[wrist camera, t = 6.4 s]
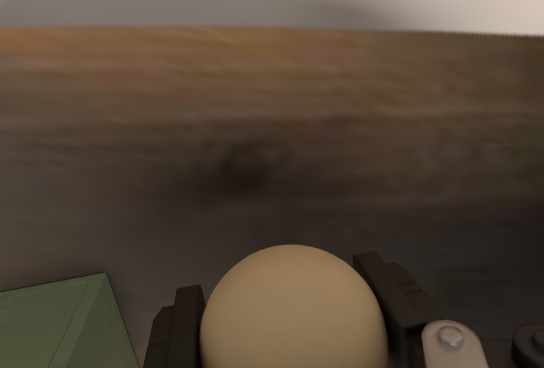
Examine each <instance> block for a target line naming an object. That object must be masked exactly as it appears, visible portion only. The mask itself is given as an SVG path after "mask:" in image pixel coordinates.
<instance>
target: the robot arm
mask: <svg viewBox="0 0 544 368" xmlns="http://www.w3.org/2000/svg"><path fill="white" fill-rule="evenodd" d="M353 269H354V270H355V271H356V272H357V273H358V274H359V275H360V276H361V277H362V278H363V279H364V280H365V282H366V283H367V284H368V286H369V287H370V289H371V290H372V292H373V293H374V295H375V297H376V299H377V301H378V303H379V305H380V308H381V310H382V313H383V316H384V320H385V324H386V328H387V334H388V347H389V352H388V363H387V366H388V368H544V324H538V323H528V324H523V325H520V326H519V327H517V328H516V329H515V330H514V332H513V338H512V340H502V339H485V338H478V336H477V335H476V333H475V332H474V331H473V330H471V329H470V328H469V327H467V326H465V325H463V324H461V323H458V322H455V321H449V320H447V319H446V318H445V317H444V315H443V314H442V313H441V312H440V310H439V309H438V308H437V307H436V306H435V304H434V303H433V302H432V301H431V299H430V298H429V297H428V296H427V294H426V293H425V292H424V291H422V288H421V287H420V286H419V284H418V283H417V282H415V279H414V278H413V277H412V276H411V274H410V273H409V272H408V271H407V270H406V269H404V268H402V267H401V266H399V265H397V264H396V263H390V264H385V263H384V261H383V260H382V259H381V257H380V256H379V254H378V253H377V252H376V251H372V252H367V253H361V254H356V255H353ZM205 308H206V304H205V300H204V296H203V292H202V288H201V285H200V284H199V285H193V286H188V287H183V288H178V289H177V291H176V297H175V304H174V305H173V306H168V307H162V309H161V310H160V312H159V313H158V314H157V316H156V317H155V318H154V320H153V324H152V329H151V335H150V338H149V343H148V344H149V346H148V347H147V352H146V357H145V361H144V366H143V368H202V367H201V360H200V350H199V332H200V326H201V321H202V317H203V313H204V310H205Z"/></svg>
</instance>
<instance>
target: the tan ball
mask: <svg viewBox="0 0 544 368" xmlns="http://www.w3.org/2000/svg"><path fill="white" fill-rule="evenodd" d="M199 350H200V360H201V367H202V368H387V363H388V352H389V347H388V334H387V328H386V324H385V320H384V316H383V313H382V310H381V308H380V305H379V303H378V301H377V299H376V297H375V295H374V293H373V292H372V290H371V289H370V287H369V286H368V284H367V283H366V282H365V280H364V279H363V278H362V277H361V276H360V275H359V274H358V273H357V272H356V271H355V270H354V269H353V268H352V267H351V266H349V265H348V264H347V263H346V262H344V261H343V260H341V259H339V258H338V257H336V256H334V255H333V254H331V253H328V252H326V251H324V250H321V249H317V248H314V247H309V246H303V245H279V246H274V247H269V248H266V249H263V250H260V251H258V252H256V253H253V254H251V255H249V256H248V257H246V258H244V259H243V260H241V261H240V262H239V263H237V264H236V265H235V266H234V267H233V268H231V269H230V270H229V271H228V272H227V273H226V274H225V275H224V276H223V278H222V279H221V280H220V282H219V283H218V284H217V286H216V287H215V289H214V291H213V292H212V294H211V296H210V298H209V300H208V303H207V305H206V308H205V310H204V313H203V317H202V321H201V326H200V332H199Z"/></svg>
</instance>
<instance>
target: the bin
mask: <svg viewBox="0 0 544 368" xmlns="http://www.w3.org/2000/svg"><path fill="white" fill-rule="evenodd" d="M0 368H139V366H138V363H137V360H136V357H135V354H134V351H133V348H132V346H131V343H130V340H129V337H128V334H127V331H126V328H125V325H124V322H123V320H122V317H121V314H120V311H119V308H118V305H117V302H116V299H115V296H114V294H113V291H112V288H111V285H110V282H109V279H108V276H107V273H106V272H104V273H99V274H94V275H89V276H84V277H78V278H73V279H68V280H63V281H57V282H52V283H47V284H42V285H37V286H31V287H26V288H21V289H16V290H10V291H5V292H0Z"/></svg>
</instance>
